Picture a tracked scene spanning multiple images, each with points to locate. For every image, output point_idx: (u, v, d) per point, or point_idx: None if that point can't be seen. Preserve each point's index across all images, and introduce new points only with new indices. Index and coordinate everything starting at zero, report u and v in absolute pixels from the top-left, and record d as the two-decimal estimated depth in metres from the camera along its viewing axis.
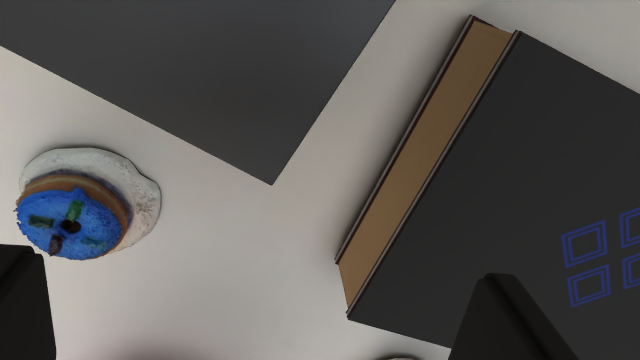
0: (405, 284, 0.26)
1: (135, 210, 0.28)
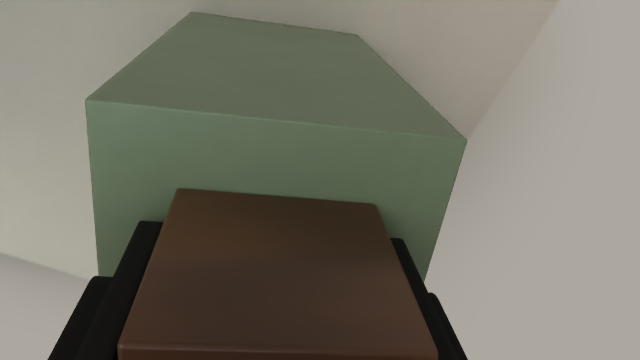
0: None
1: None
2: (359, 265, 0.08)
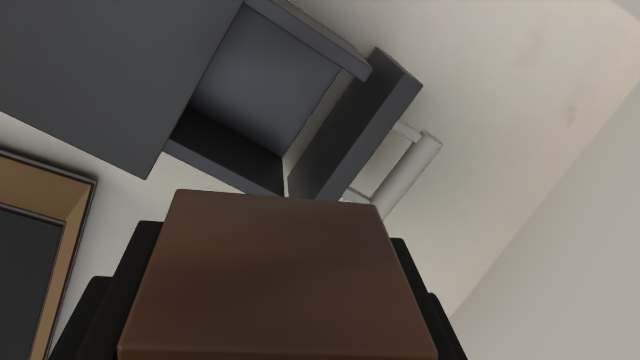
0: None
1: None
2: (359, 266, 0.08)
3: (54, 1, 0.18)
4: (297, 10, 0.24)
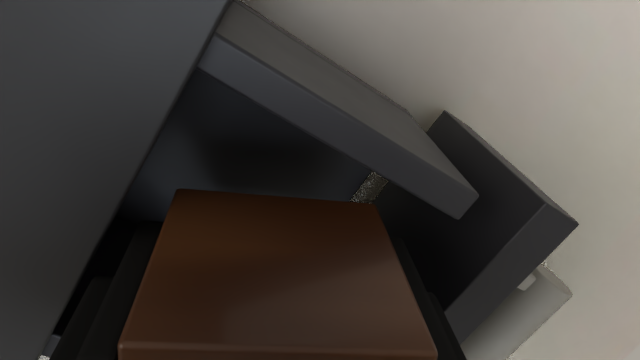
0: None
1: None
2: (359, 265, 0.08)
3: None
4: (314, 59, 0.13)
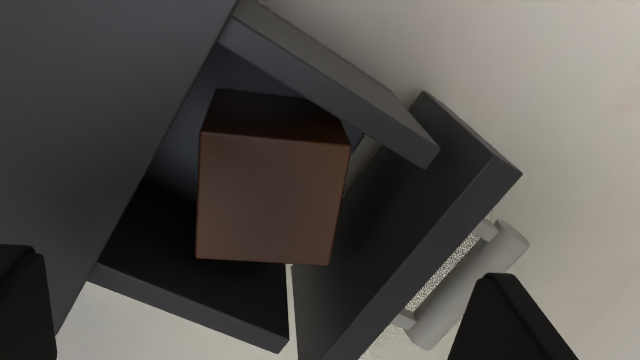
0: None
1: None
2: (317, 120, 0.15)
3: None
4: (309, 43, 0.15)
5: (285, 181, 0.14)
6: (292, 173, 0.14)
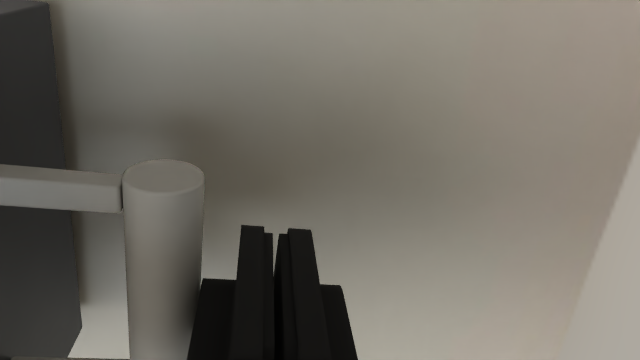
0: None
1: None
2: None
3: None
4: None
5: None
6: None
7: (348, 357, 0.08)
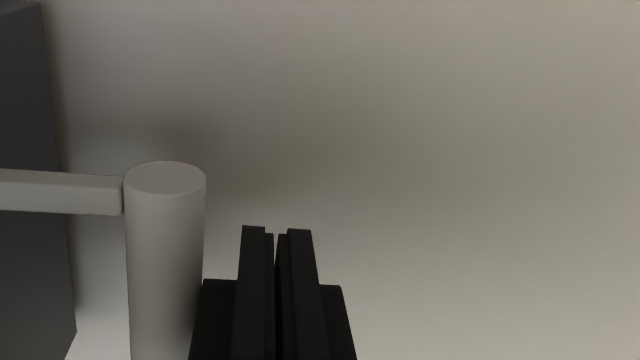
0: None
1: None
2: None
3: None
4: None
5: None
6: None
7: (347, 357, 0.08)
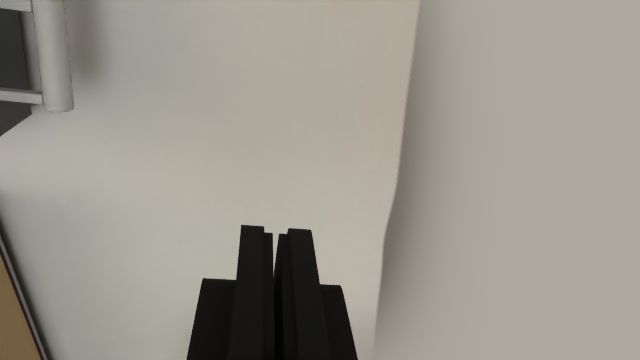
0: None
1: None
2: None
3: None
4: None
5: None
6: None
7: (348, 357, 0.08)
